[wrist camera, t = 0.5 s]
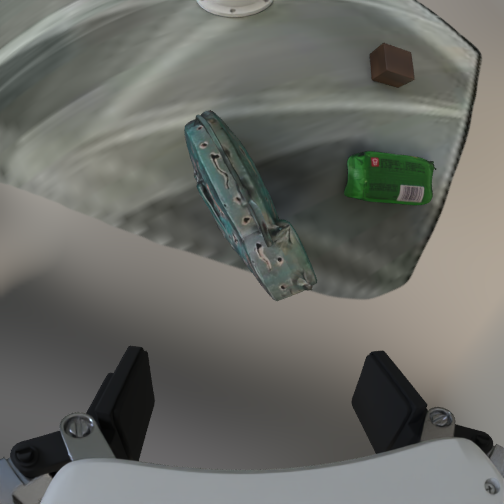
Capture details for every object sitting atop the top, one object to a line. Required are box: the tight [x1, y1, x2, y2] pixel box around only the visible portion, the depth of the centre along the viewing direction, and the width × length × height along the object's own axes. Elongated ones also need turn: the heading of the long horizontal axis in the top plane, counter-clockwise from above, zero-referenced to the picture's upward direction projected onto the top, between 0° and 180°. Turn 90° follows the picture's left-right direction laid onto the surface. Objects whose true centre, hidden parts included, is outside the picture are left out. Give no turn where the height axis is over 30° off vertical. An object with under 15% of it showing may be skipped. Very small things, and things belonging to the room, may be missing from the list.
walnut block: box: [370, 43, 414, 88], centre depth 32 cm, size 5×5×5 cm
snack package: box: [344, 151, 436, 205], centre depth 36 cm, size 7×16×5 cm, turn 90°
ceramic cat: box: [184, 110, 317, 301], centre depth 28 cm, size 20×6×20 cm, turn 29°
